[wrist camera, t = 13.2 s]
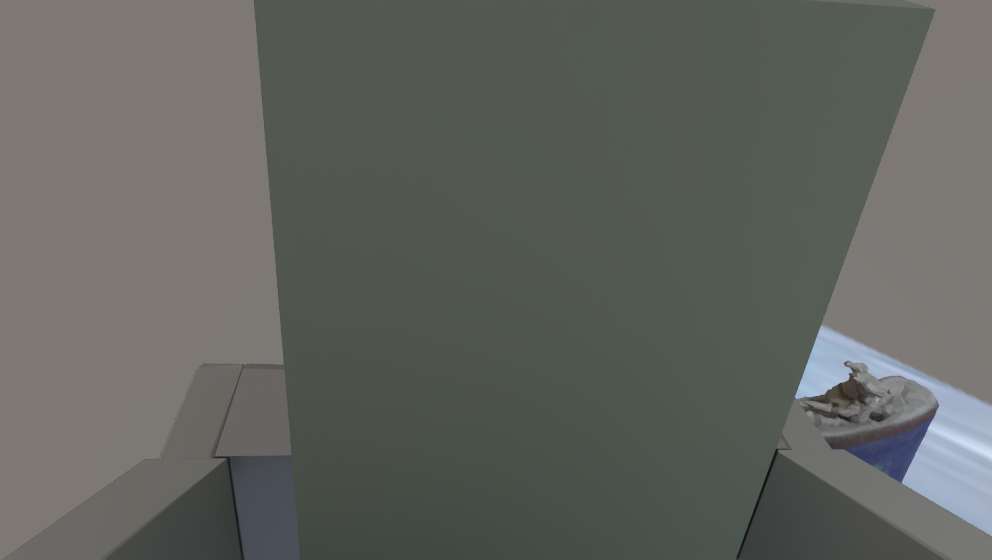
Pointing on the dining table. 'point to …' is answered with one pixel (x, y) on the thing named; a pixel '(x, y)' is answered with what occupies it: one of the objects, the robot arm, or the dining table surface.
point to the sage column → (559, 259)
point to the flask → (874, 418)
